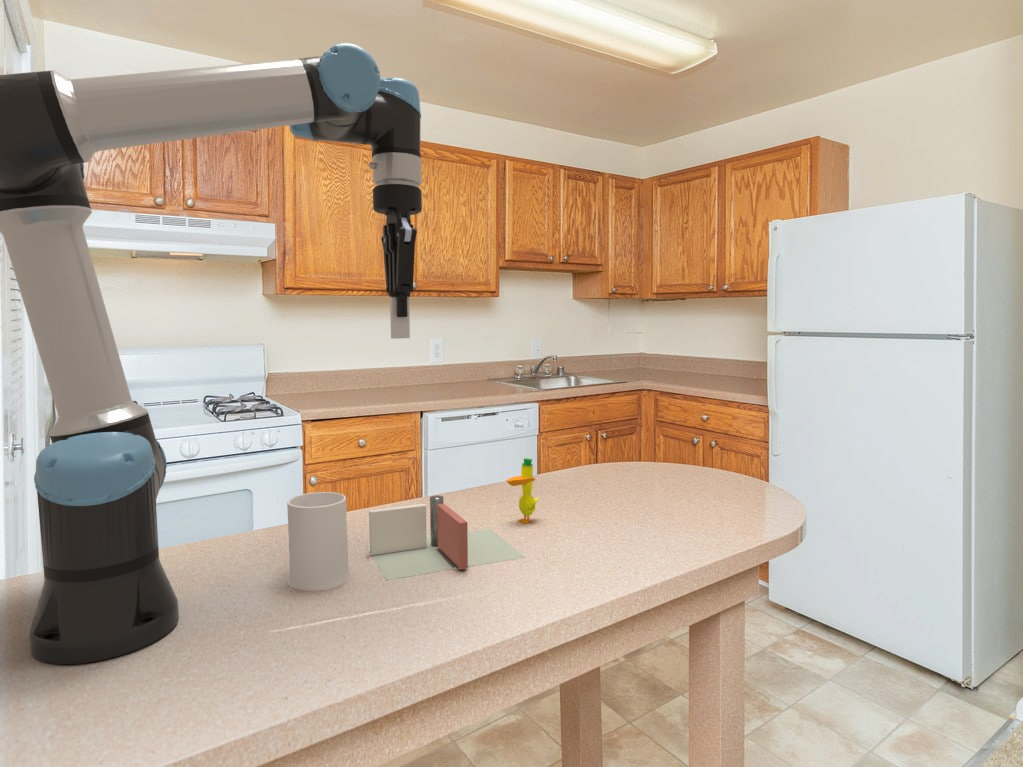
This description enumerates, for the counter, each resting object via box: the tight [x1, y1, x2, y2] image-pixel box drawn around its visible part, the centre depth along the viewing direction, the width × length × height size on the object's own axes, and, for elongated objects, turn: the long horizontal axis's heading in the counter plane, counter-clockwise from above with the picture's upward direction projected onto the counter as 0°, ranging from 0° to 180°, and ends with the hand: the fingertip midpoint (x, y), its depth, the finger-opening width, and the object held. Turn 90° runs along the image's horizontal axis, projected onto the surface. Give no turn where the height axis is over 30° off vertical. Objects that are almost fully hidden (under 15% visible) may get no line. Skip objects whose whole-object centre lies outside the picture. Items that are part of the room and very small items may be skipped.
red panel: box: [437, 503, 469, 570], centre depth 100 cm, size 10×1×7 cm, turn 25°
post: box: [429, 494, 444, 547], centre depth 106 cm, size 2×2×8 cm
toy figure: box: [506, 457, 540, 525], centre depth 118 cm, size 7×4×12 cm, turn 121°
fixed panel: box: [368, 503, 427, 557], centre depth 104 cm, size 9×1×7 cm, turn 113°
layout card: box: [365, 528, 526, 581], centre depth 104 cm, size 22×15×1 cm
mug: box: [286, 491, 351, 592], centre depth 94 cm, size 12×8×12 cm
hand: (400, 338), depth 103 cm, fingers closed
